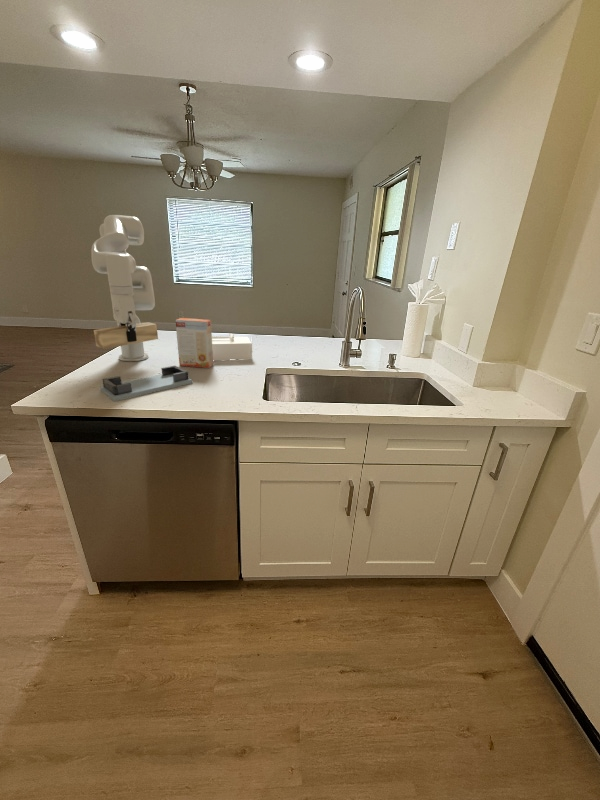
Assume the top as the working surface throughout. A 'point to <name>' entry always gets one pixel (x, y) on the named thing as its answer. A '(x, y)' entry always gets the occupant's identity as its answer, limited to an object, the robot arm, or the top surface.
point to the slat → (124, 335)
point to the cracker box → (194, 342)
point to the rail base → (145, 383)
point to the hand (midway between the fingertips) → (128, 339)
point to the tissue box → (231, 347)
